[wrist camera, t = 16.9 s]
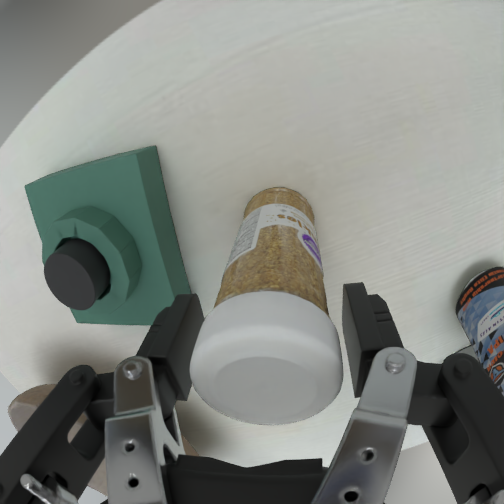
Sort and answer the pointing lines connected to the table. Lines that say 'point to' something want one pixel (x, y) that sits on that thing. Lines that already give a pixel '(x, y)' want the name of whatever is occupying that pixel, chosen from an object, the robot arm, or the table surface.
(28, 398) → the bowl
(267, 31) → the table surface
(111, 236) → the green push button box
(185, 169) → the table surface
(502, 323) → the beverage can
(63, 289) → the button
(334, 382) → the sprinkles bottle
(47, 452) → the robot arm
